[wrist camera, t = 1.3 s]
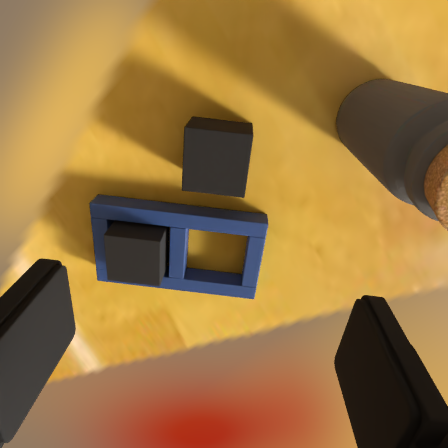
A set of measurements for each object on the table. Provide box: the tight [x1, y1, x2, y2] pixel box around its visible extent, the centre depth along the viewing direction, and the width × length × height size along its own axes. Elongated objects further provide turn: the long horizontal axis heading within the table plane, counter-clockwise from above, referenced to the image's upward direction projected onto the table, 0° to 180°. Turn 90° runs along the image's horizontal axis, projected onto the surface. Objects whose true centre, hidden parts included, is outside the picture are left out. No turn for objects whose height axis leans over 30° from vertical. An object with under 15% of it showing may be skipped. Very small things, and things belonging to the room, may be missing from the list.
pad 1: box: [104, 220, 170, 286], centre depth 31 cm, size 5×5×4 cm
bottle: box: [336, 79, 448, 230], centre depth 20 cm, size 6×6×15 cm
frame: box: [89, 194, 268, 299], centre depth 32 cm, size 9×16×2 cm, turn 84°
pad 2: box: [182, 117, 253, 198], centre depth 27 cm, size 5×5×4 cm
